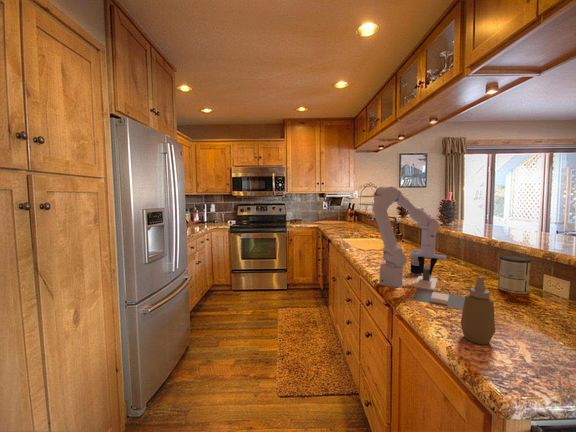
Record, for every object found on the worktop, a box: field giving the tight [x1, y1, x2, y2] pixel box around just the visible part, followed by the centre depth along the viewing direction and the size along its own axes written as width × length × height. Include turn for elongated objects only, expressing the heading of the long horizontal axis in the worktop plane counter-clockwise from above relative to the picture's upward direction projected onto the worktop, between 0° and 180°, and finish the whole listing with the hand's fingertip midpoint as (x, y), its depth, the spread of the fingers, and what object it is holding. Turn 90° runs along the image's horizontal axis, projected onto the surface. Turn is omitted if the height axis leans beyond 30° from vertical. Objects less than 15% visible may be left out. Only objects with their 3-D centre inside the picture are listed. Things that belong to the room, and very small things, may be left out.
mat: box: [411, 287, 466, 311], centre depth 106 cm, size 19×15×1 cm
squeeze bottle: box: [460, 276, 496, 345], centre depth 77 cm, size 8×8×18 cm
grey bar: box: [418, 264, 432, 287], centre depth 124 cm, size 5×15×6 cm, turn 147°
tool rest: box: [412, 275, 439, 291], centre depth 124 cm, size 8×17×1 cm, turn 147°
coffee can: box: [497, 254, 532, 295], centre depth 117 cm, size 10×10×14 cm
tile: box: [431, 292, 449, 305], centre depth 104 cm, size 6×2×7 cm
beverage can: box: [410, 249, 423, 276], centre depth 140 cm, size 6×6×12 cm
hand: (426, 273), depth 126 cm, fingers closed on grey bar, 2 cm apart
